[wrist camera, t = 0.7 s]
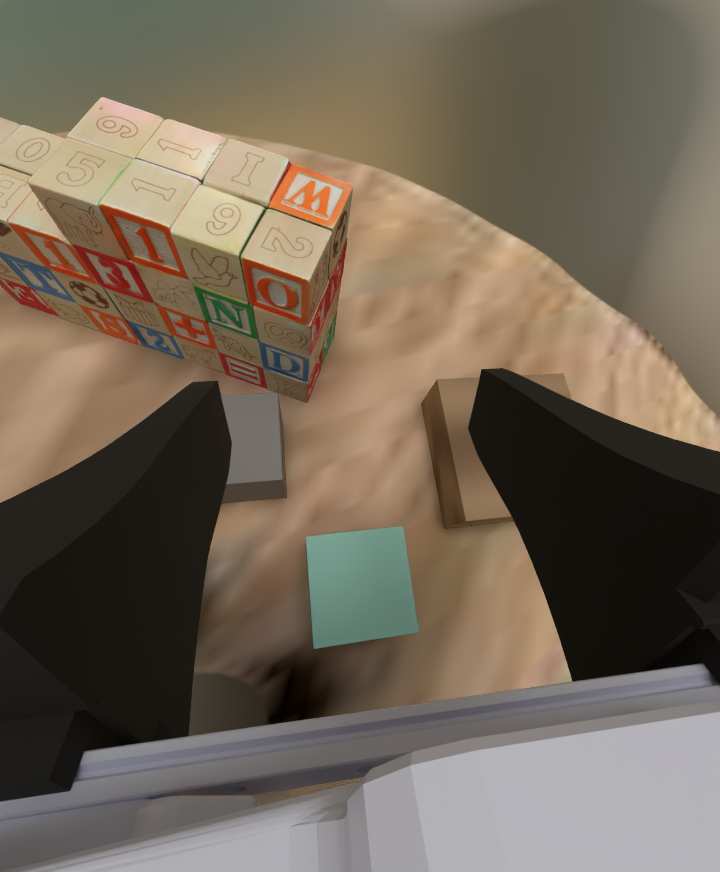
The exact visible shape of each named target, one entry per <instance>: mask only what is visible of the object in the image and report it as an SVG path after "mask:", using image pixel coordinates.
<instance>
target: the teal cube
mask: <svg viewBox="0 0 720 872" xmlns="http://www.w3.org/2000/svg"><path fill="white" fill-rule="evenodd" d="M306 550H307V565H308V579H309V593H310V608H311V622H312V636H313V646H314V649H316V648H323V647H329V646H335V645H342V644H348V643H355V642H361V641H367V640H374V639H380V638H387V637H393V636H399V635H406V634H412V633H419V629H418V622H417V615H416V609H415V602H414V596H413V589H412V582H411V576H410V569H409V563H408V556H407V550H406V543H405V536H404V530H403V526H398V527H389V528H380V529H371V530H362V531H352V532H343V533H334V534H325V535H316V536H307V537H306Z"/></svg>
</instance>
